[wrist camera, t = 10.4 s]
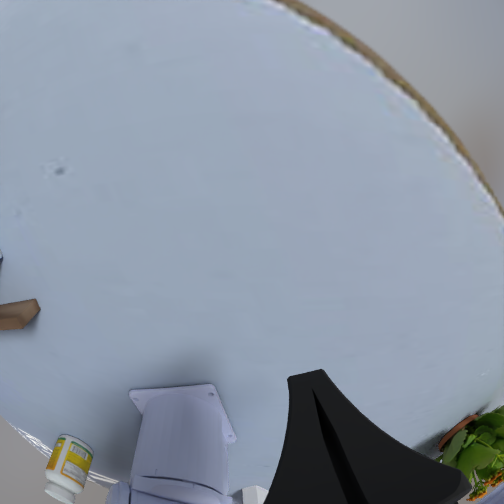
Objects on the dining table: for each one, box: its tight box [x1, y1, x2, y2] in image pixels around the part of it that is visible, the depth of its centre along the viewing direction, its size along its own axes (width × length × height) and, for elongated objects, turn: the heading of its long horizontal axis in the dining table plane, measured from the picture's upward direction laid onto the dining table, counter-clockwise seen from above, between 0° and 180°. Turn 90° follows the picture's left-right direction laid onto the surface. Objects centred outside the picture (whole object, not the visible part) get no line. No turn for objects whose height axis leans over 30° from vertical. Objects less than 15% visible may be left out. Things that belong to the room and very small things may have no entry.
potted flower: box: [435, 405, 504, 501], centre depth 25 cm, size 25×24×18 cm
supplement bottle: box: [45, 435, 93, 504], centre depth 21 cm, size 5×5×10 cm
